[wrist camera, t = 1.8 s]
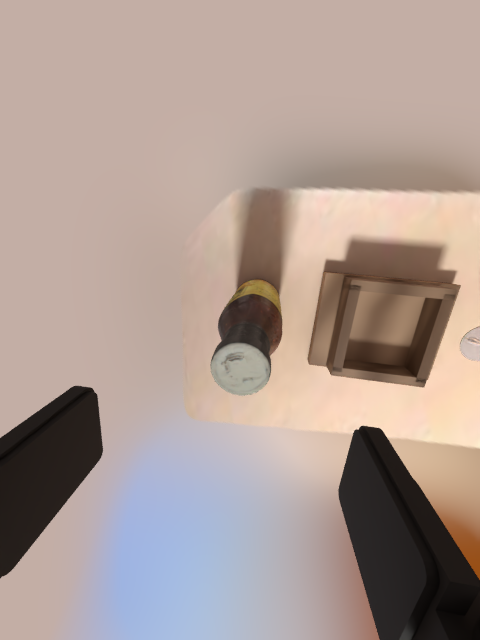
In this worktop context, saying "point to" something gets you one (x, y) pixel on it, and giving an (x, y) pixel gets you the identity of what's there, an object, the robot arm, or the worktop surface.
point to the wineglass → (471, 345)
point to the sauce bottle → (247, 338)
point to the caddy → (380, 327)
